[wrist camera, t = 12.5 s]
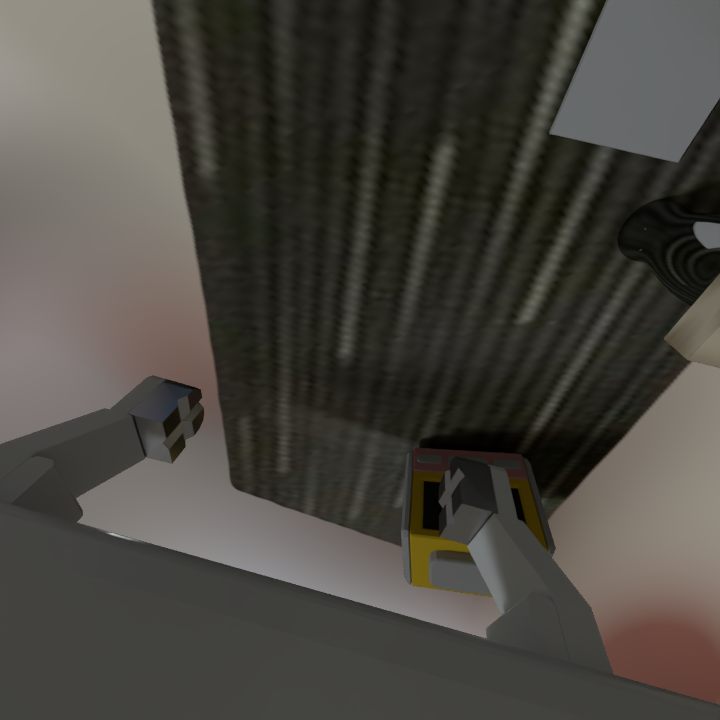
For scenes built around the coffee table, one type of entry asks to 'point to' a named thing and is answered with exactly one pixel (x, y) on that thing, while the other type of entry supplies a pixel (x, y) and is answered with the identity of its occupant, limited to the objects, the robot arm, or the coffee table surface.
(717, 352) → the birch lid
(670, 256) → the beer glass
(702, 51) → the grey mat
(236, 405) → the coffee table surface
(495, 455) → the alarm clock
